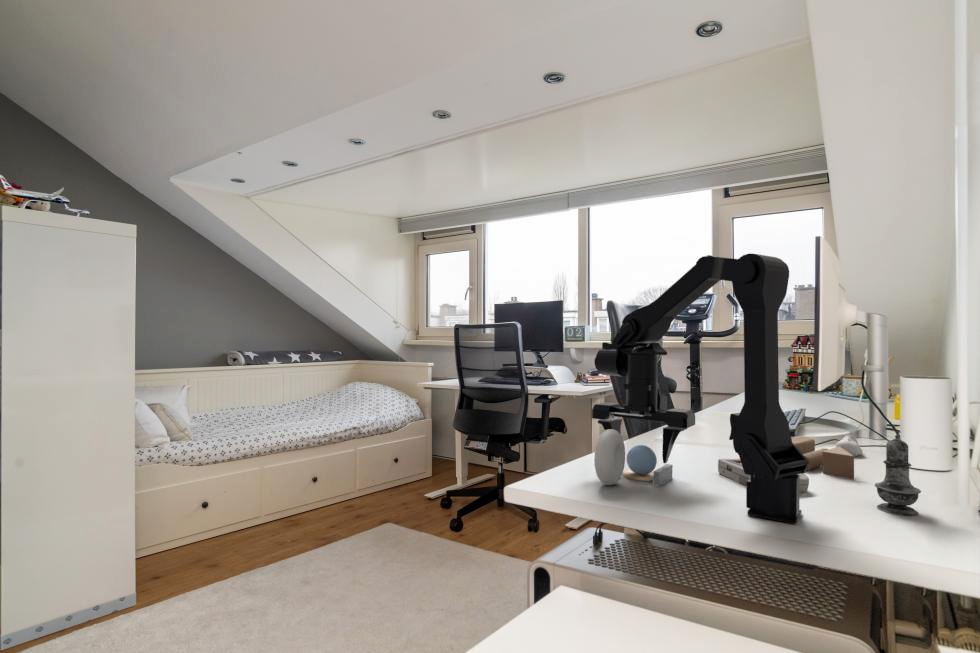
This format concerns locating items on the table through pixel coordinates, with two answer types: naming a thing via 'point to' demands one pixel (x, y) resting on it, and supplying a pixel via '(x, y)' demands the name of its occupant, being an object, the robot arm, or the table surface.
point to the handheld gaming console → (736, 472)
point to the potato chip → (638, 476)
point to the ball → (641, 459)
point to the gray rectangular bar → (662, 475)
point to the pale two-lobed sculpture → (850, 445)
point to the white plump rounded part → (609, 457)
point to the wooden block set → (826, 458)
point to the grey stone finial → (897, 481)
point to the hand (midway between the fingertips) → (641, 459)
